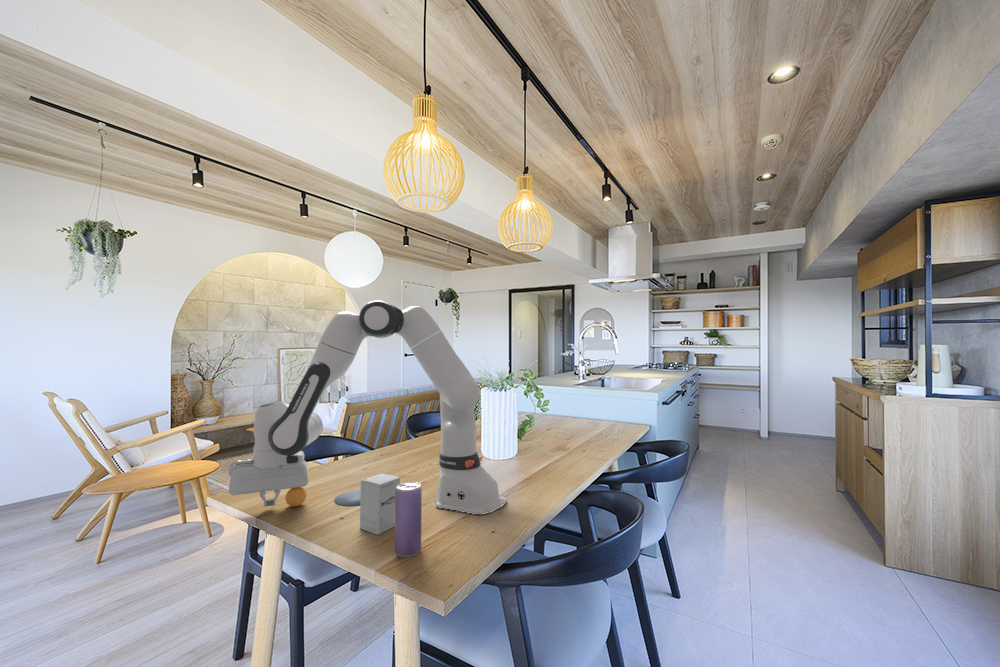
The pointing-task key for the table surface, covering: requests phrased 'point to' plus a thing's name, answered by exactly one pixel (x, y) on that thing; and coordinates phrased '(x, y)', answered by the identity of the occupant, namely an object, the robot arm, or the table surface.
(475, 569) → the table surface
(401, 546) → the beverage can
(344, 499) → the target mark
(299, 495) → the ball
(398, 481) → the supplement box
